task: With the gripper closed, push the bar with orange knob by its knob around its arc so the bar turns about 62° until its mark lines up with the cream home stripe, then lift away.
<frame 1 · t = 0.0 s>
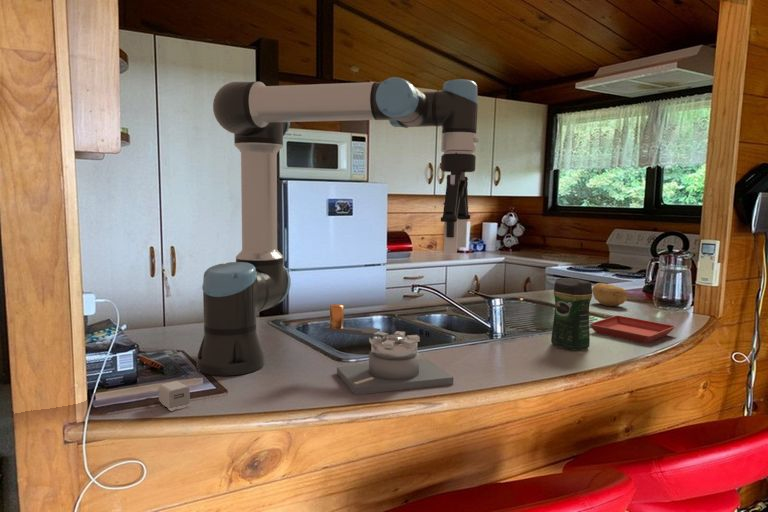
hand: (455, 250, 125), 28 cm above the counter, fingers open, 13 cm apart
bar with orange knob: (370, 329, 123), point 11 cm above the counter, hinge at 0.0°
usb wall charger: (171, 405, 106), on the counter
plant saucer: (631, 336, 166), on the counter
base plate: (393, 378, 123), on the counter
potato: (609, 306, 208), on the counter
coffee jar: (569, 347, 151), on the counter
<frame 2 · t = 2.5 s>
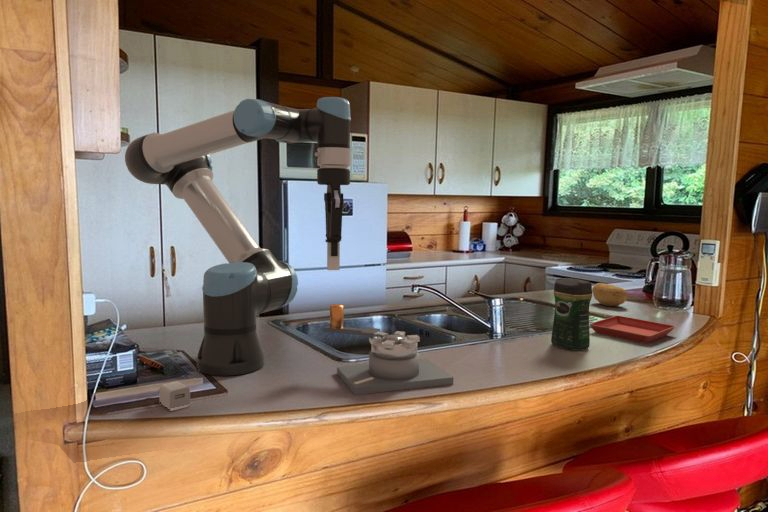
hand: (333, 269, 131), 22 cm above the counter, fingers closed
nothing on the counter moved.
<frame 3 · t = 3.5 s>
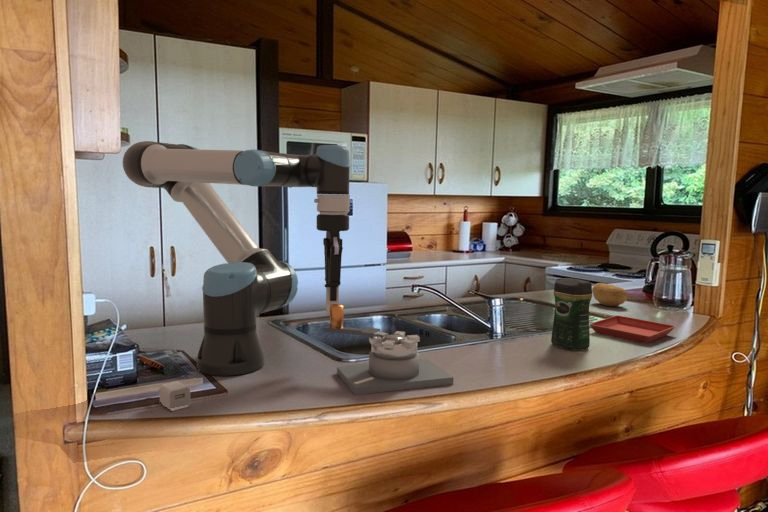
hand: (332, 313, 132), 12 cm above the counter, fingers closed
nothing on the counter moved.
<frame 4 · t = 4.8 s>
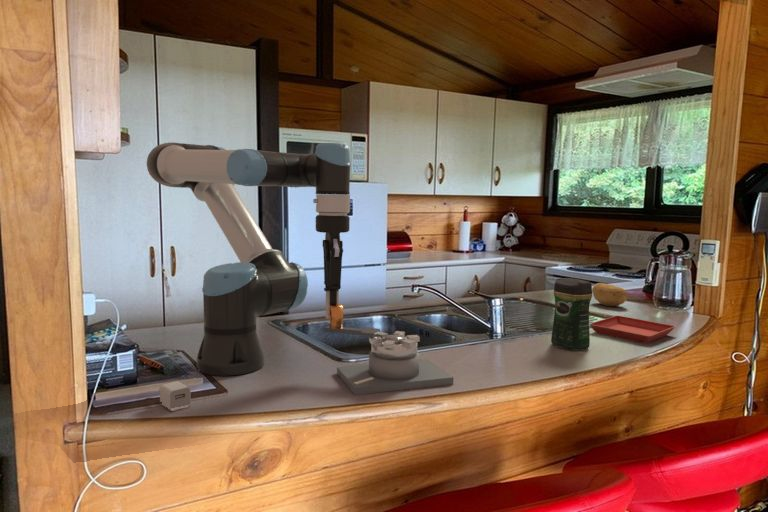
hand: (332, 318, 127), 12 cm above the counter, fingers closed
bar with orange knob: (370, 329, 123), point 11 cm above the counter, hinge at 0.9°, touching gripper
everything else where it was.
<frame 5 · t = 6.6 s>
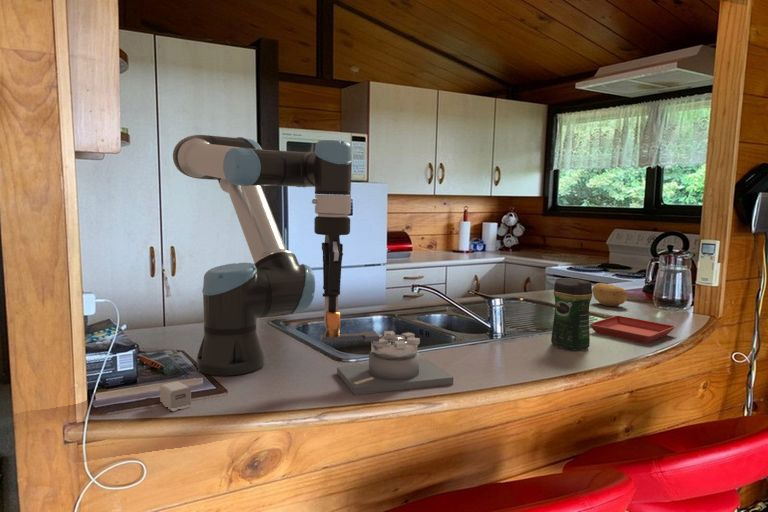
hand: (330, 325, 120), 12 cm above the counter, fingers closed
bar with orange knob: (370, 332, 120), point 11 cm above the counter, hinge at 30.7°, touching gripper
everything else where it was.
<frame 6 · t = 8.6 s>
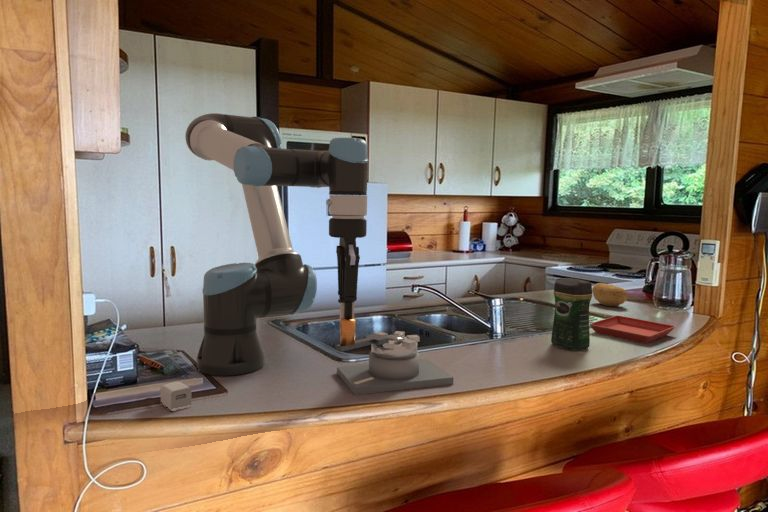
hand: (346, 332, 114), 12 cm above the counter, fingers closed
bar with orange knob: (376, 335, 118), point 11 cm above the counter, hinge at 61.2°, touching gripper
everything else where it was.
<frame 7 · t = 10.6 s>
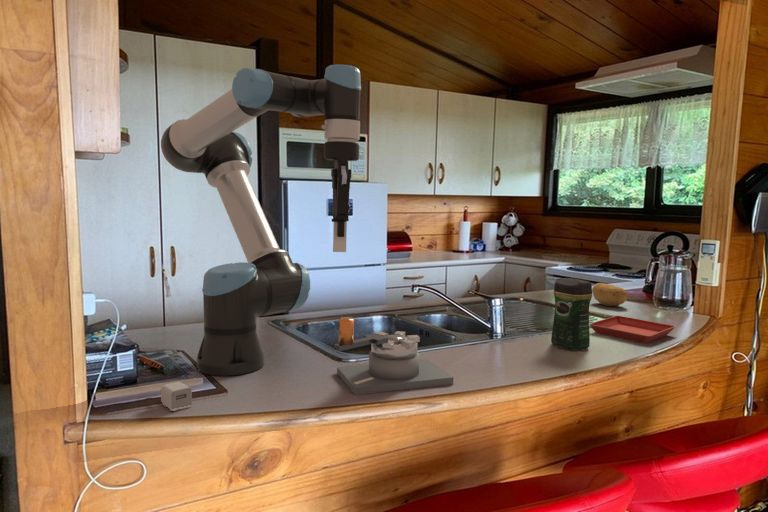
hand: (339, 251, 122), 28 cm above the counter, fingers closed
bar with orange knob: (376, 335, 118), point 11 cm above the counter, hinge at 59.3°
everything else where it was.
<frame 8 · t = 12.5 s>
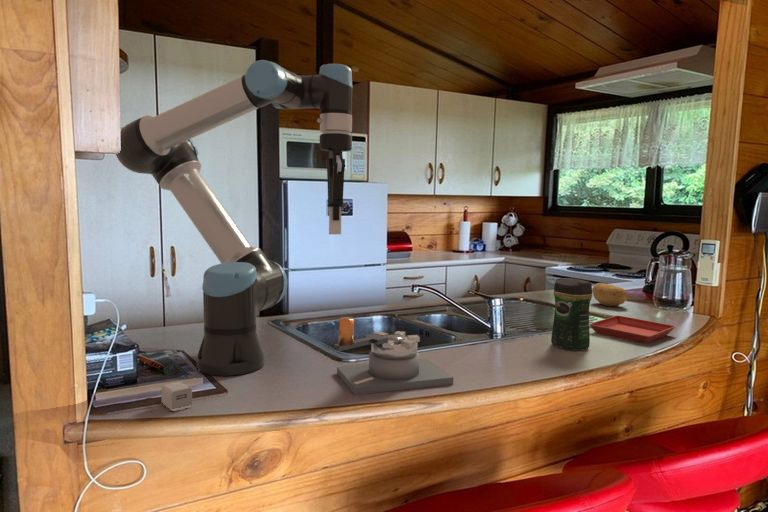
hand: (334, 234, 134), 30 cm above the counter, fingers closed
nothing on the counter moved.
at the end: bar with orange knob at +59° (first picture: +0°) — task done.
